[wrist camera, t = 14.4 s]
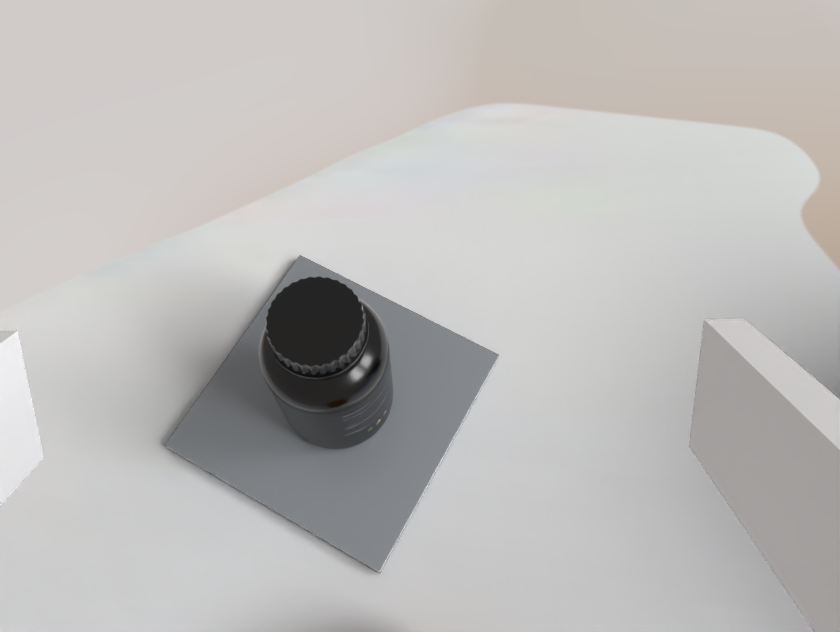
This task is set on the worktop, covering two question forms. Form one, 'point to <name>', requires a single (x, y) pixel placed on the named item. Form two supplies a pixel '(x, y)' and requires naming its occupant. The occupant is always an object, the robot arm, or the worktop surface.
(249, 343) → the slate tile
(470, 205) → the worktop surface
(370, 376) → the supplement bottle
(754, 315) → the worktop surface
